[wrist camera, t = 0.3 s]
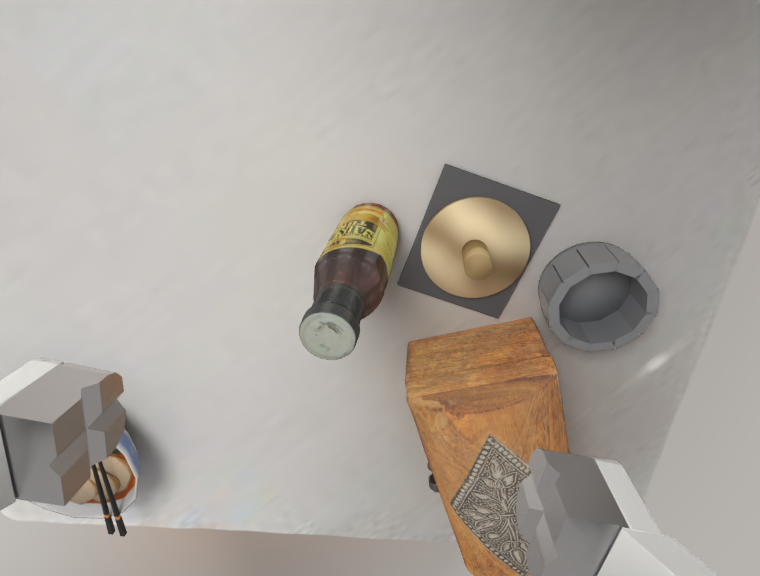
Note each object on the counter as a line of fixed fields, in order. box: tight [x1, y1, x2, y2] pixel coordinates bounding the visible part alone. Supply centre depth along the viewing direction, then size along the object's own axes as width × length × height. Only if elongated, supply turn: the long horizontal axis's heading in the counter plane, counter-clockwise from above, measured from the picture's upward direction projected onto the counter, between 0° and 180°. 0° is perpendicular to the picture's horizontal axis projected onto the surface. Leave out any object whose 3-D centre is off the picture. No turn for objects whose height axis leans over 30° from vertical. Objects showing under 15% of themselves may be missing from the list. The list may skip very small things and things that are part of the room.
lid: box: [421, 196, 530, 298], centre depth 44 cm, size 11×11×5 cm
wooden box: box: [405, 318, 569, 576], centre depth 52 cm, size 30×16×14 cm, turn 17°
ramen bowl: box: [30, 428, 139, 536], centre depth 63 cm, size 25×23×8 cm
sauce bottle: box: [299, 203, 398, 360], centre depth 39 cm, size 6×6×20 cm
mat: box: [398, 164, 560, 318], centre depth 47 cm, size 14×12×1 cm
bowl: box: [538, 242, 659, 352], centre depth 46 cm, size 10×10×5 cm
